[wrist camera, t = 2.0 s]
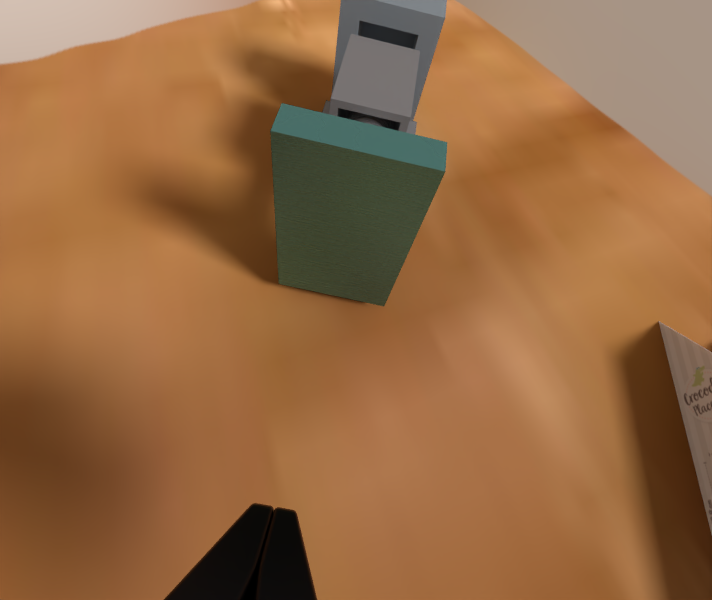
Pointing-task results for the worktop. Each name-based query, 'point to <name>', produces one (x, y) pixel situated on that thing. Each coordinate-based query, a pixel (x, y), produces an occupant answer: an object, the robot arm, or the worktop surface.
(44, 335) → the worktop surface
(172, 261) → the worktop surface
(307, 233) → the teal green slab
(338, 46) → the socket
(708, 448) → the box
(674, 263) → the worktop surface
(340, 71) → the sleeve
